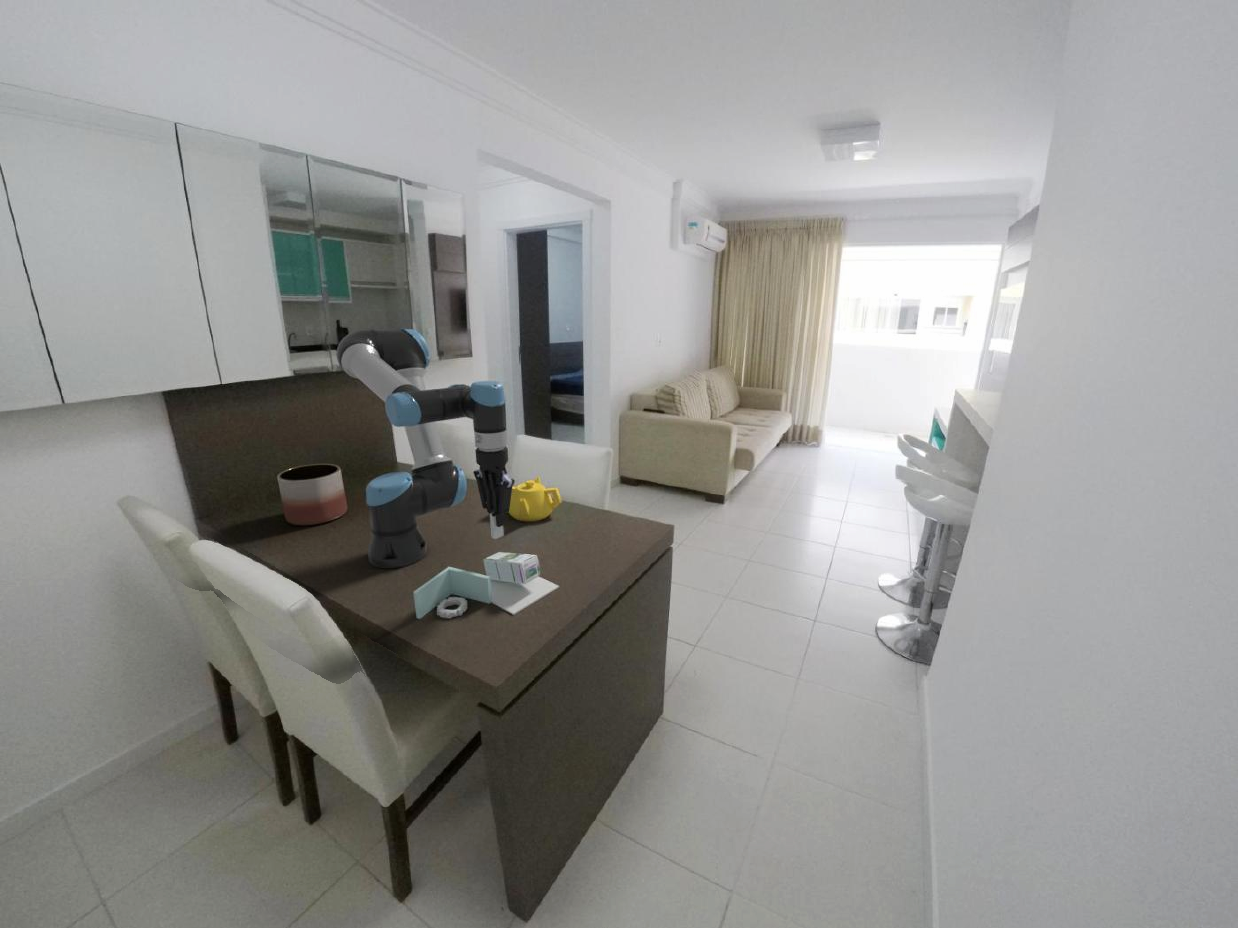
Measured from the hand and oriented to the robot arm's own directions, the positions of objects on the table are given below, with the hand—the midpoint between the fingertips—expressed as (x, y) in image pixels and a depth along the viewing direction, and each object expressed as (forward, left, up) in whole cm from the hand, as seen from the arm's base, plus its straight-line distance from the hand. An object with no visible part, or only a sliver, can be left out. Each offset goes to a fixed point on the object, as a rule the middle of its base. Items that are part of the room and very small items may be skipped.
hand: (497, 536), depth 122 cm
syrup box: (-3, 0, -9) cm, 10 cm away
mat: (+6, 0, -13) cm, 14 cm away
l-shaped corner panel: (+2, -15, -13) cm, 20 cm away
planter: (-79, -13, -13) cm, 81 cm away
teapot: (-26, +34, -13) cm, 44 cm away
